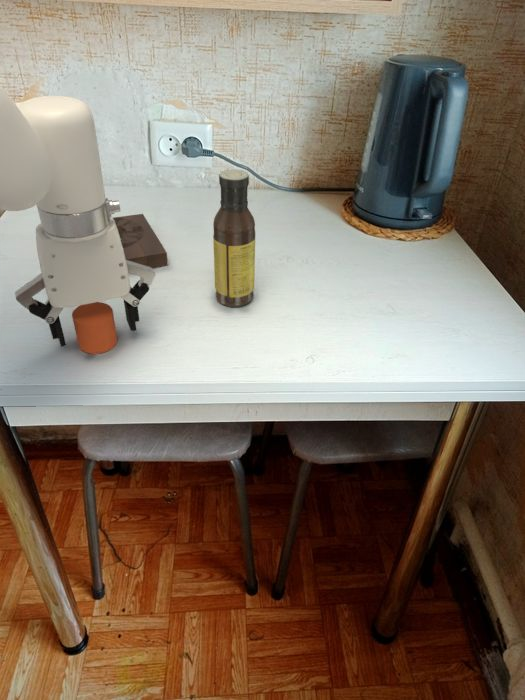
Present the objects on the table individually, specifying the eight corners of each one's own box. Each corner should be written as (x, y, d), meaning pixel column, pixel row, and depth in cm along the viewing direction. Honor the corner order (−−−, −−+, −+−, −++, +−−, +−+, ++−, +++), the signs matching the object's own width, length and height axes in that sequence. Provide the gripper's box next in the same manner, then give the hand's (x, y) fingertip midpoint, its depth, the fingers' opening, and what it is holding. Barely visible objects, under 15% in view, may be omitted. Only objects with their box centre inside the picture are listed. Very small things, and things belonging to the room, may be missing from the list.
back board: (71, 281, 82) (68, 268, 80) (57, 236, 93) (54, 223, 92) (167, 265, 88) (166, 252, 86) (143, 224, 99) (142, 212, 97)
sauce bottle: (259, 292, 83) (266, 170, 70) (245, 312, 78) (251, 186, 66) (222, 283, 84) (223, 162, 72) (207, 302, 80) (205, 177, 67)
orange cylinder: (81, 357, 68) (75, 327, 65) (75, 335, 72) (69, 305, 68) (120, 349, 70) (116, 319, 67) (112, 327, 73) (108, 298, 70)
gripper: (140, 194, 65) (152, 305, 76) (-9, 212, 58) (27, 331, 69) (156, 219, 59) (166, 335, 70) (-6, 242, 53) (33, 365, 64)
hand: (97, 332), depth 70 cm, fingers open, 9 cm apart
